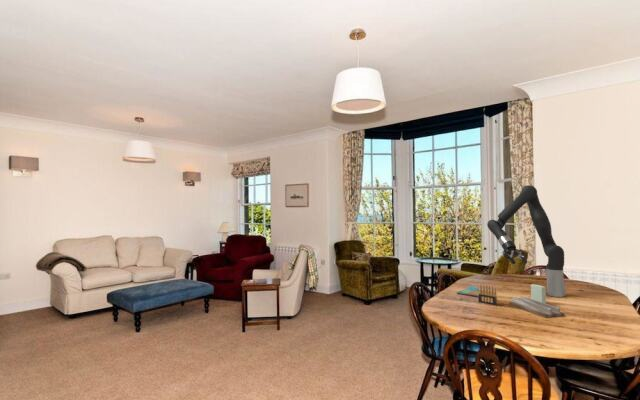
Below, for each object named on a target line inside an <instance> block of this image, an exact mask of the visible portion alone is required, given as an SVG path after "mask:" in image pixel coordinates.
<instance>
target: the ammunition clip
mask: <svg viewBox="0 0 640 400" xmlns="http://www.w3.org/2000/svg"><path fill="white" fill-rule="evenodd" d="M478 286H479V287H478V288H479V298H478V303H481V304H486V305H491V306H498V297H497V287H496V284H494V285H493V284H490V283H488V284H487V283H485V284H484V283H481V282H479V284H478ZM481 288H482V289H481ZM484 288H485V290H484ZM487 289H488V291H487ZM490 289H491V291H490ZM493 290H494V291H493Z"/></svg>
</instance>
